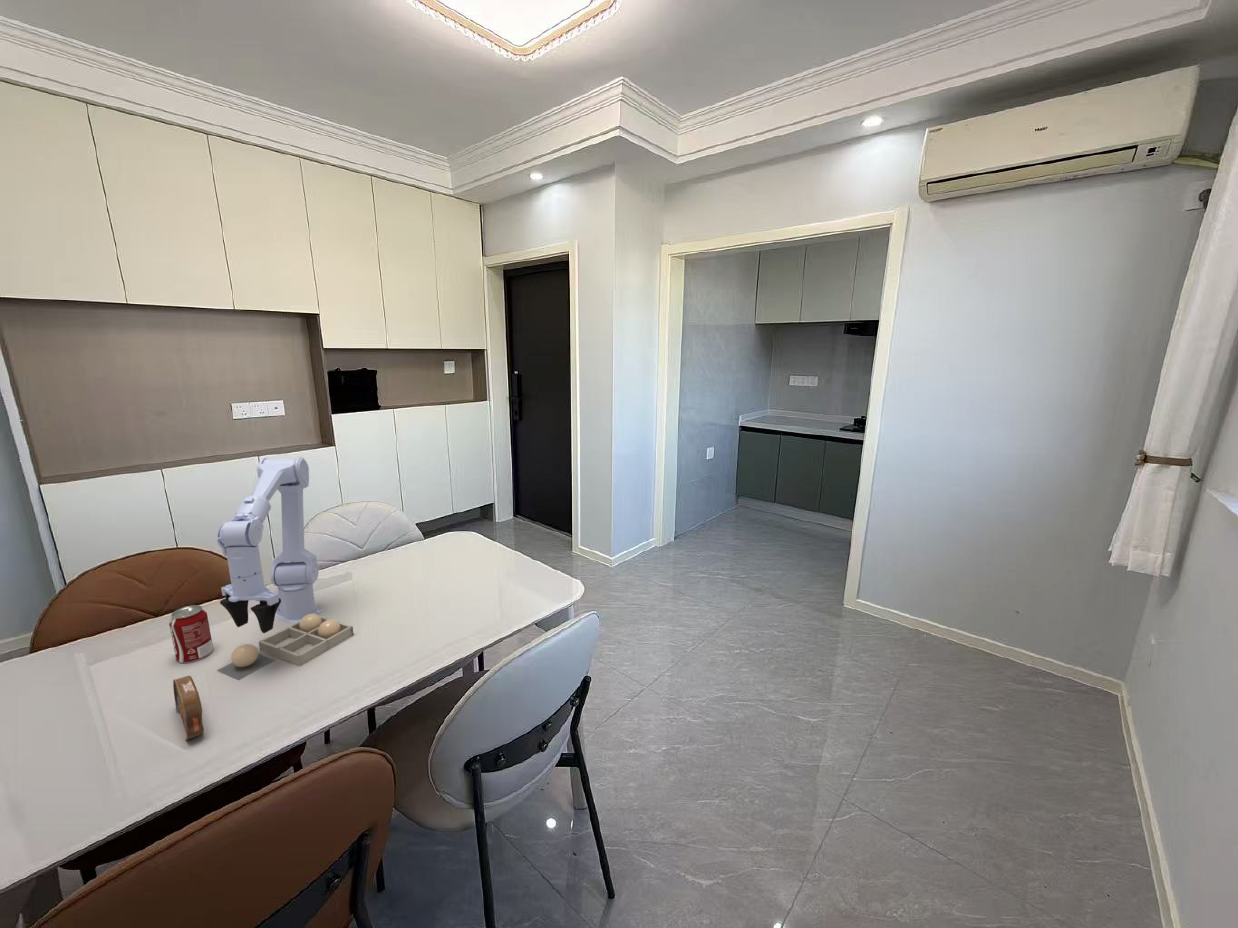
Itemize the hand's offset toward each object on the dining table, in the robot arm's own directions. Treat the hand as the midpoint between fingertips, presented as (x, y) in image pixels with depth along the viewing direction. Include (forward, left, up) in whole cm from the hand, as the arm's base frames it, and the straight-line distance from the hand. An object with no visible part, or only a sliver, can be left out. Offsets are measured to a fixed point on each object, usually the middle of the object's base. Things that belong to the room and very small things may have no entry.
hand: (254, 627), depth 114 cm
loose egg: (-2, -2, -9) cm, 9 cm away
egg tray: (+2, +10, -10) cm, 14 cm away
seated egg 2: (+6, +13, -9) cm, 17 cm away
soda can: (-17, -4, -10) cm, 20 cm away
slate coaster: (-2, -2, -10) cm, 10 cm away
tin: (+7, -17, -10) cm, 21 cm away
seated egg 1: (-1, +13, -9) cm, 16 cm away
